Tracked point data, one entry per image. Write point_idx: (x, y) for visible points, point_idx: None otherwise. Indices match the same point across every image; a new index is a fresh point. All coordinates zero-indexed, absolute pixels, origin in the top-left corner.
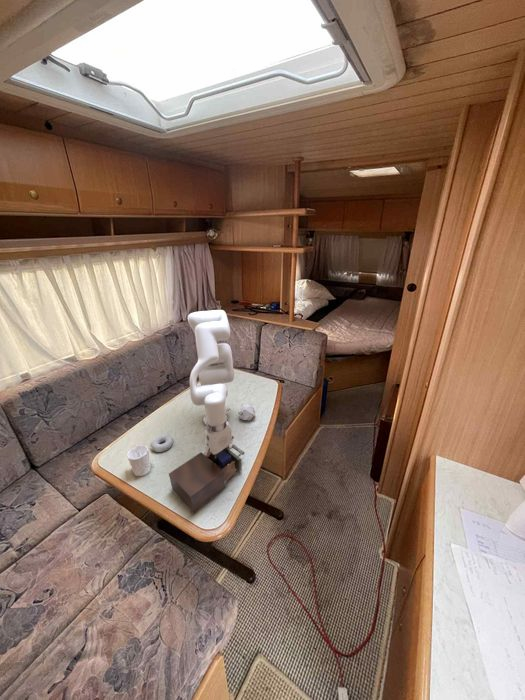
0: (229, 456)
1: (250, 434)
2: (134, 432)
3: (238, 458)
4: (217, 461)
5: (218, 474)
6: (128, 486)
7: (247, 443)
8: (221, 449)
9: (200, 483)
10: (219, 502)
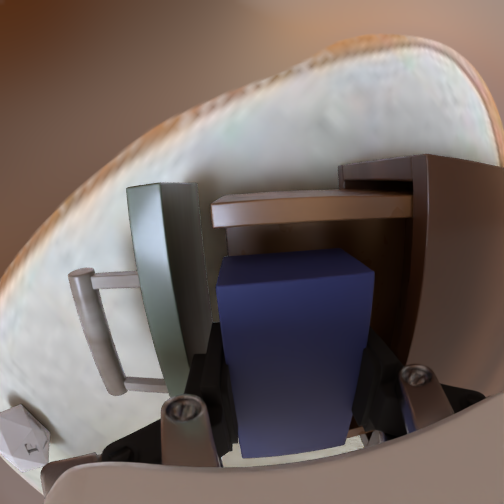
0: (236, 295)
1: (32, 365)
2: None
3: (146, 209)
4: (371, 332)
5: (471, 168)
6: None
7: (54, 340)
8: (430, 457)
9: None
10: (407, 122)
